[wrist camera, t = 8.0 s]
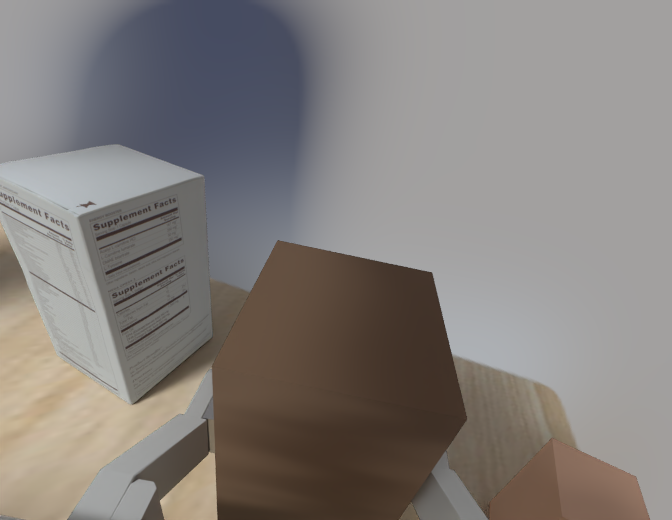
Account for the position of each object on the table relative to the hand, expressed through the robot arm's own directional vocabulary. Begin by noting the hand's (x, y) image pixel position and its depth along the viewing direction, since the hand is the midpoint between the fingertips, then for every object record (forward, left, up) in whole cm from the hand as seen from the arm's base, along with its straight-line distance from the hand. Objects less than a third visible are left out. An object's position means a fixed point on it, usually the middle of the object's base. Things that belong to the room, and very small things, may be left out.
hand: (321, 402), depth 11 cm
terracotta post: (+11, +12, -17) cm, 23 cm away
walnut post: (+1, -1, -6) cm, 6 cm away
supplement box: (-21, 0, -17) cm, 27 cm away
